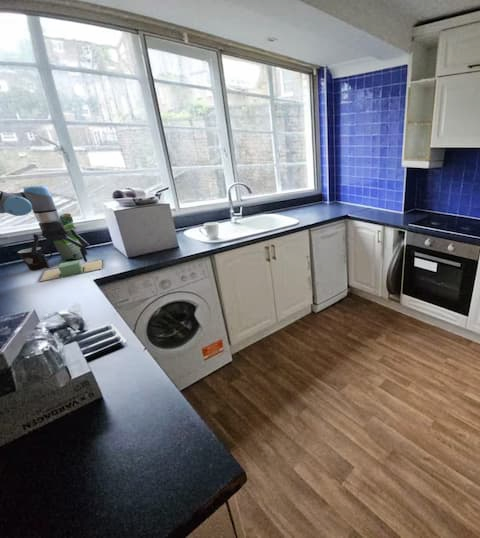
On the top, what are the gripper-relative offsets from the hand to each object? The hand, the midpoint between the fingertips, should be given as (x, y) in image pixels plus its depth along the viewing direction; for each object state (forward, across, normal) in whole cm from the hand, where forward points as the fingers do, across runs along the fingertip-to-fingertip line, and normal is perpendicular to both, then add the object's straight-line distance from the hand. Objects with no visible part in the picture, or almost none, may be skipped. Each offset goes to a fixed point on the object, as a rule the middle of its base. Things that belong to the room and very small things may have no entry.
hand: (67, 264), depth 142 cm
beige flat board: (+5, 0, -4) cm, 7 cm away
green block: (+5, -1, 0) cm, 5 cm away
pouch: (+5, 0, -31) cm, 31 cm away
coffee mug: (+6, +14, -23) cm, 27 cm away
